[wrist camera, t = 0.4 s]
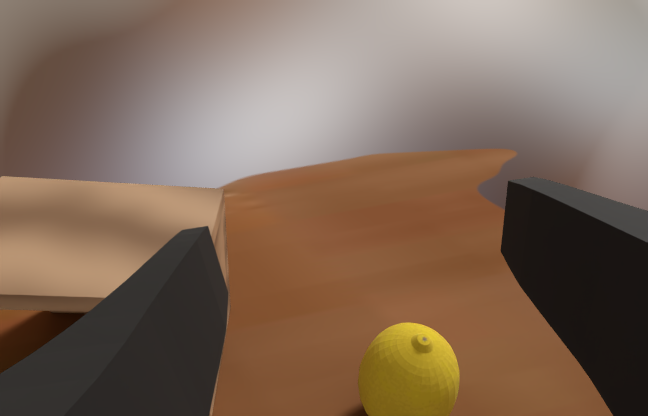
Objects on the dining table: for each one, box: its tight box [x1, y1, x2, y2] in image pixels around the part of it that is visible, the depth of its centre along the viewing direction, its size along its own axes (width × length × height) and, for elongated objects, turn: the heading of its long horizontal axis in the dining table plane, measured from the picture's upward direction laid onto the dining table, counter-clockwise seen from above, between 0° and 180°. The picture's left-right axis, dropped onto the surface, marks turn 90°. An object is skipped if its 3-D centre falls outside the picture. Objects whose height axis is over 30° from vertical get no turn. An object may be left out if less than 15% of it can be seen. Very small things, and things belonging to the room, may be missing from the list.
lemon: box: [358, 323, 459, 416], centre depth 24 cm, size 6×6×8 cm
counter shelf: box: [0, 176, 231, 416], centre depth 24 cm, size 8×12×11 cm
